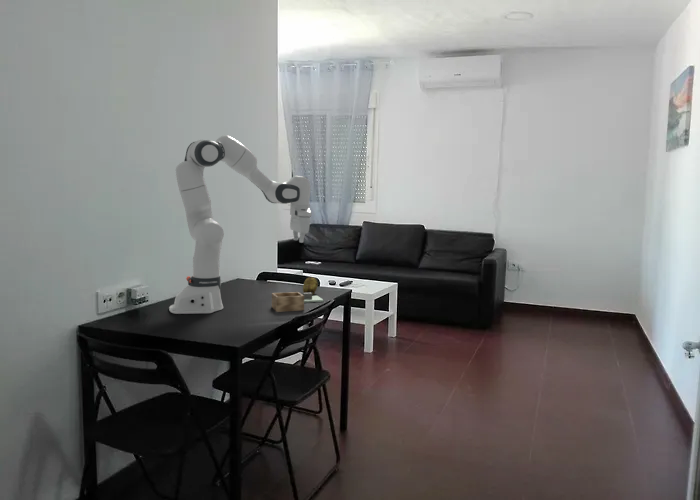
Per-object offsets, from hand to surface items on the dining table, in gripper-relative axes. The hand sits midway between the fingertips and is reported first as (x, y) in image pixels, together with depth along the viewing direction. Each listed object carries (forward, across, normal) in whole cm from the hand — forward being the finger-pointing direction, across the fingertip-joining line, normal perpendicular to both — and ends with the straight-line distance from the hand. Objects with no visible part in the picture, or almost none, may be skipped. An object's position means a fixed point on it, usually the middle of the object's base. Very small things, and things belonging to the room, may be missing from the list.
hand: (298, 241), depth 270 cm
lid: (+28, +4, +4) cm, 29 cm away
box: (+28, +18, -8) cm, 35 cm away
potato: (+28, -12, +10) cm, 32 cm away
